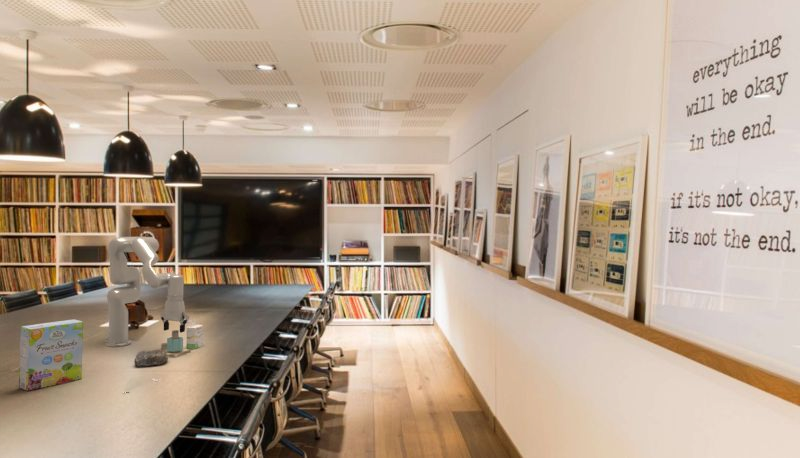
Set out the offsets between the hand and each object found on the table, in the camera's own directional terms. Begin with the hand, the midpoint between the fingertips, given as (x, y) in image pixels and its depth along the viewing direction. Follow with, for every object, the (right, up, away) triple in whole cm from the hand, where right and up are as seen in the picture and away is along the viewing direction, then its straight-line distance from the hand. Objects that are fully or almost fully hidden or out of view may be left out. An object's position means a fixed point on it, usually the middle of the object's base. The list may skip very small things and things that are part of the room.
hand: (174, 331), depth 279 cm
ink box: (+5, -12, +14) cm, 19 cm away
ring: (0, -10, 0) cm, 10 cm away
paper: (+9, -14, -49) cm, 51 cm away
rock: (-3, -13, -19) cm, 23 cm away
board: (-2, -12, +1) cm, 12 cm away
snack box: (-30, -13, -52) cm, 61 cm away
